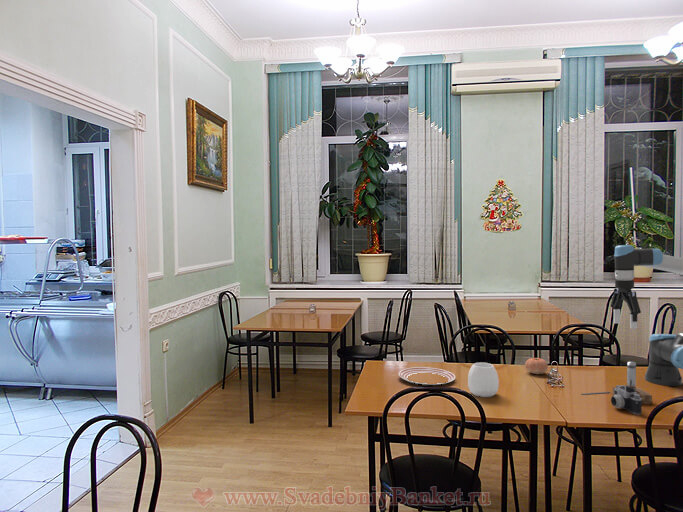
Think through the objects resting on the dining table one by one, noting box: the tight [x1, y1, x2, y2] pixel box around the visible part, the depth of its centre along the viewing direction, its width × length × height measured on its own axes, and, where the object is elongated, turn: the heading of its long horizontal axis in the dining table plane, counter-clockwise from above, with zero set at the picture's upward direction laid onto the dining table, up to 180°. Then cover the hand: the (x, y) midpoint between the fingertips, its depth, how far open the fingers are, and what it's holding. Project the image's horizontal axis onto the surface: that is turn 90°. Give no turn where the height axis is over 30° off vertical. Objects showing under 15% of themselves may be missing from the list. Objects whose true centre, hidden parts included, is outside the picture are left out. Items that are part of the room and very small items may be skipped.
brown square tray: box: [611, 386, 653, 405], centre depth 213 cm, size 11×11×4 cm
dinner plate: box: [398, 366, 456, 386], centre depth 244 cm, size 27×27×3 cm
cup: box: [467, 362, 500, 398], centre depth 221 cm, size 13×13×14 cm
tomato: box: [524, 357, 549, 375], centre depth 254 cm, size 11×11×8 cm
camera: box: [610, 384, 643, 416], centre depth 202 cm, size 16×8×10 cm, turn 2°
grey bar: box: [626, 361, 637, 392], centre depth 213 cm, size 3×3×16 cm
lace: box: [580, 391, 611, 396], centre depth 221 cm, size 14×1×1 cm, turn 100°
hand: (625, 326), depth 225 cm, fingers open, 13 cm apart
